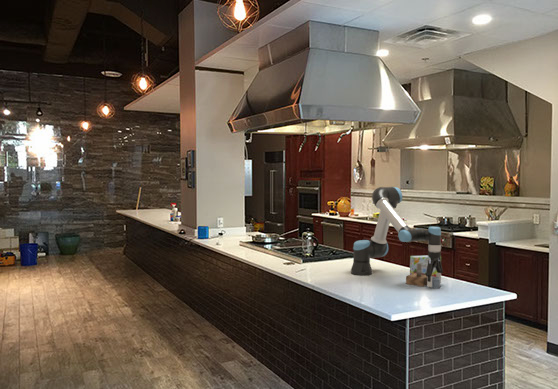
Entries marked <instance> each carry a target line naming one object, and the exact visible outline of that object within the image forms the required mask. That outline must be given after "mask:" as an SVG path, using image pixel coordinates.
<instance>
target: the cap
mask: <svg viewBox="0 0 558 389" xmlns="http://www.w3.org/2000/svg"><path fill="white" fill-rule="evenodd" d="M428 288H429V289H440V288H441V283H440V278H439V277H432V287H428Z"/></svg>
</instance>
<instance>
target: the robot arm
mask: <svg viewBox="0 0 558 389" xmlns="http://www.w3.org/2000/svg"><path fill="white" fill-rule="evenodd" d="M371 200H372V204H374V206H375V207H376V208H377V209H378V210H379V215H378V218H377V222H376V227H375V230H374V234H373V236H371V238H370V240H368V239H362V240H361V239H360V240H356V241H354V243H353V247H352V250H353V258H352V259H353V262H352V266H351V269H350V273H351V274H352V275H354V276H355V275H356V276H369V275H372V274H373V269H372V268H373V267H372V266H371V259H373V258H381V257H385V256H386V255H387V254H388V252H389V244H388V241H387V234H388V231H389V228H390V224H391V225H392V226H393V228H394V229H395V230H396V231H397V234H398V235H397V237H398V239H399V241H400V242H402V243H403V242H404V243H405V242H406V243H409V242H417V241H419V242H420V241H423V242H428V244H427V245H428V247H427V249H428V250H427V251H428V253H427V254H428V257H429V258H431V260H428V266H427V271H426V276H427V285H426V287H427V288H429V287H432V273H433V269H434V268H436V270H437V272H438V273H436V277H439V278H440V284H441V283H442V274H443V266H442V251H441V250H442V242H441V239H442V230H441V227H439V226H429V227H428V229H427V228H422V227H418V228H417V227H416V228H414V229H411V228H410V226H409V225H408V224H407V222H405V221H404V219H403V217H401V216H400V214H399V213H398V211H397V210H396V209H397V206H398V204H400V203H401V202H402V201H403V193H402V190H401V189H400V188H399V187H397V186H395V187H394V186H380V187H376V188H375V189H374V191H372V194H371ZM440 257H441V258H440Z"/></svg>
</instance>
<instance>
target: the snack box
mask: <svg viewBox="0 0 558 389" xmlns="http://www.w3.org/2000/svg"><path fill="white" fill-rule="evenodd" d="M409 257H410V260H409V275H411V274H414V273H416V269H417V263H421V264H422V274H423V275H426V271H427V266H428V260H431V258H429V257H428V255H410V256H409ZM440 258H441V259H442V256H441V257H440ZM436 273H438V272H437V270H436V268H434V269H433V273H432V277H436Z"/></svg>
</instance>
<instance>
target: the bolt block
mask: <svg viewBox="0 0 558 389" xmlns="http://www.w3.org/2000/svg"><path fill="white" fill-rule="evenodd" d="M405 282H406V283H405V285H411V286H418V287H427V276H426V275H423V274H422V264H421V263H417V269H416V273H414V274H411V275H410V274H408V275H406V277H405Z"/></svg>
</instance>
